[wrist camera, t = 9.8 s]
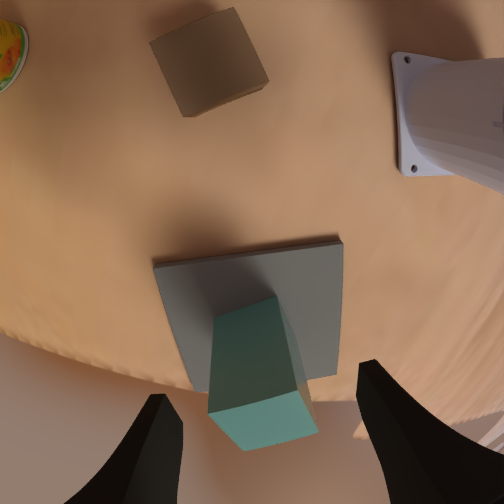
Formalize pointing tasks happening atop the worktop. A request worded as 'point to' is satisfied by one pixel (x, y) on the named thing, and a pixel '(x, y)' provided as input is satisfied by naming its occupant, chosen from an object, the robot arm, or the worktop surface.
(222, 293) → the slate mat
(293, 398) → the teal block
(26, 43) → the supplement bottle
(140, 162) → the worktop surface
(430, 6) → the worktop surface
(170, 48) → the walnut block
